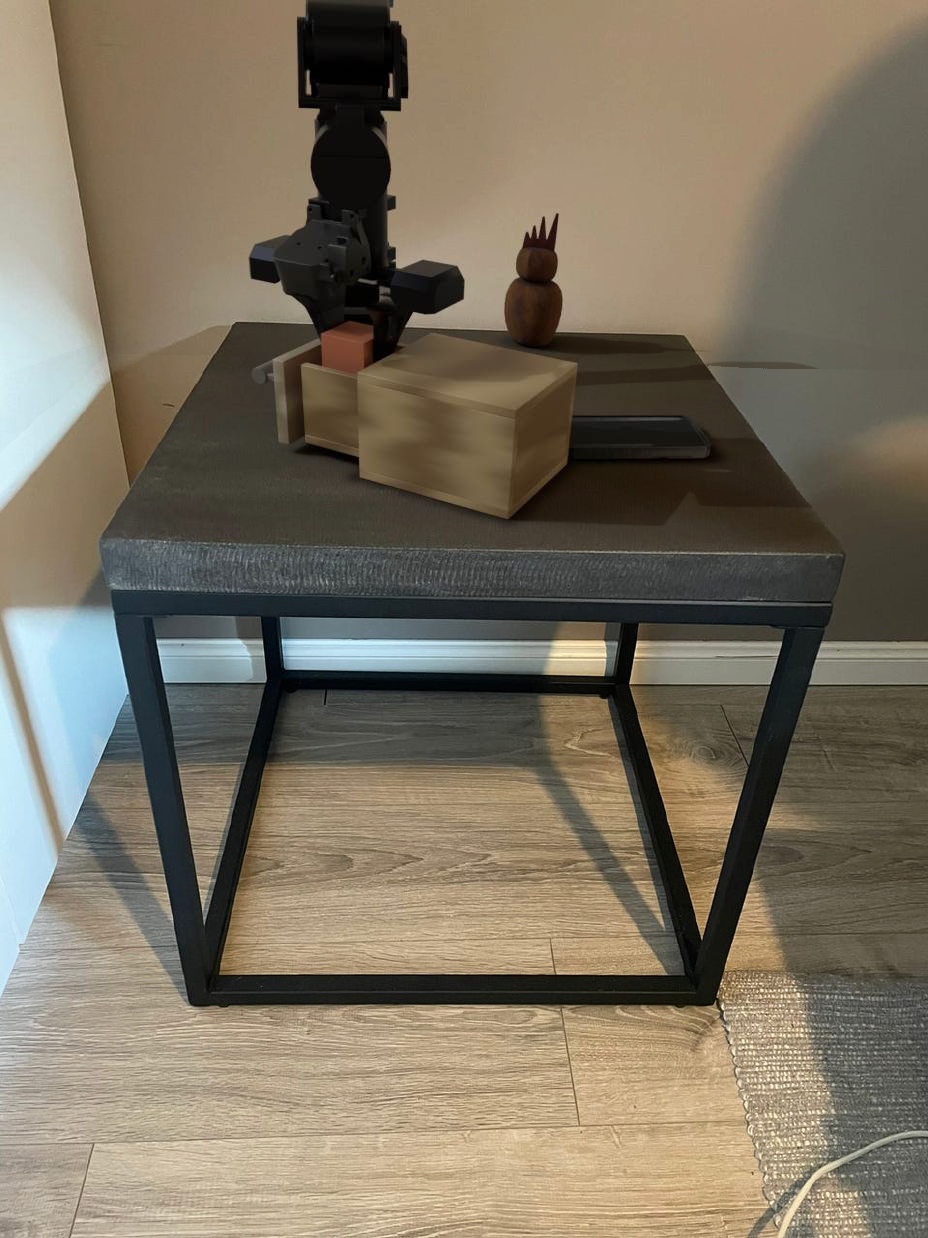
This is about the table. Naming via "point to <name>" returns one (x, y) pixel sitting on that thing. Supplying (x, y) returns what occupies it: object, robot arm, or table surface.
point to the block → (348, 347)
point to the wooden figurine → (535, 290)
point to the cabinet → (465, 422)
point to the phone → (636, 437)
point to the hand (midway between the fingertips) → (357, 370)
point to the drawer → (314, 399)
